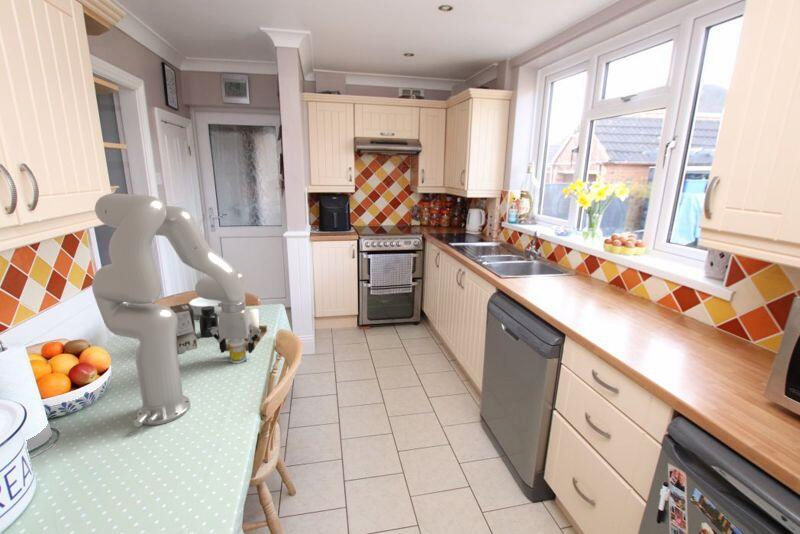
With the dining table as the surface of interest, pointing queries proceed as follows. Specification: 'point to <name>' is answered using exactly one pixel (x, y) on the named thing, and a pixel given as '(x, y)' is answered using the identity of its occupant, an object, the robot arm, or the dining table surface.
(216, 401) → the dining table surface
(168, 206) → the robot arm
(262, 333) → the rack
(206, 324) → the supplement bottle
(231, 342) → the supplement bottle
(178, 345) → the coffee box
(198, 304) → the cereal bowl
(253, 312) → the rod
